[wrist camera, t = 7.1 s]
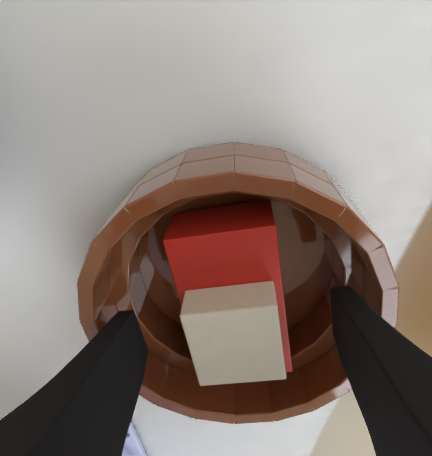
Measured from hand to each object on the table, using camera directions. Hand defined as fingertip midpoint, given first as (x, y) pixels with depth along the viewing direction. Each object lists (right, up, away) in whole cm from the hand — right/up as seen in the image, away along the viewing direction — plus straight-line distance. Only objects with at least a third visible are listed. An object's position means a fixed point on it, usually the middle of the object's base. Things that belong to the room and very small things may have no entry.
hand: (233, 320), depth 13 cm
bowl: (0, +2, +3) cm, 4 cm away
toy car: (0, +2, +3) cm, 3 cm away
